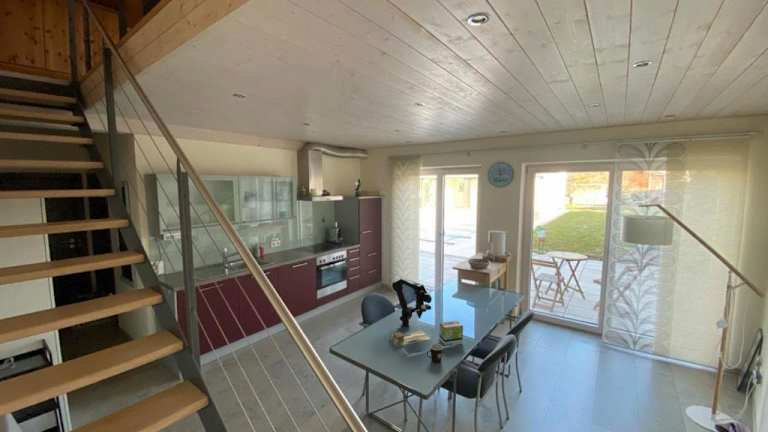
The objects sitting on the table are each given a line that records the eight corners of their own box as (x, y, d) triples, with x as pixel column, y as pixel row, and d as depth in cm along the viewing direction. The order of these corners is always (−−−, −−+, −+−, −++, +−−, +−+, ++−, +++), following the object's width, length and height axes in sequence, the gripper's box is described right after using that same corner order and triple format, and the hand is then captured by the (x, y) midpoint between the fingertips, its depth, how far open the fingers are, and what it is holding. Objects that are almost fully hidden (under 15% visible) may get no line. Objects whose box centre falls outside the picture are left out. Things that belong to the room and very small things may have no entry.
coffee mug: (441, 357, 227) (441, 343, 226) (443, 364, 218) (444, 349, 217) (424, 357, 226) (424, 343, 225) (426, 364, 218) (426, 350, 217)
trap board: (389, 339, 253) (389, 333, 253) (421, 332, 264) (421, 326, 263) (397, 348, 239) (397, 341, 239) (430, 340, 250) (430, 334, 249)
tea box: (444, 347, 241) (445, 327, 239) (439, 340, 250) (439, 322, 249) (463, 344, 245) (463, 325, 243) (456, 337, 254) (456, 319, 253)
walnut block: (393, 339, 249) (393, 333, 248) (400, 338, 251) (400, 332, 251) (396, 343, 243) (396, 337, 243) (403, 341, 246) (403, 335, 245)
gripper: (413, 305, 250) (413, 324, 252) (434, 301, 257) (434, 320, 258) (407, 300, 260) (407, 318, 262) (427, 297, 267) (427, 315, 269)
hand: (419, 318), depth 263 cm, fingers closed
